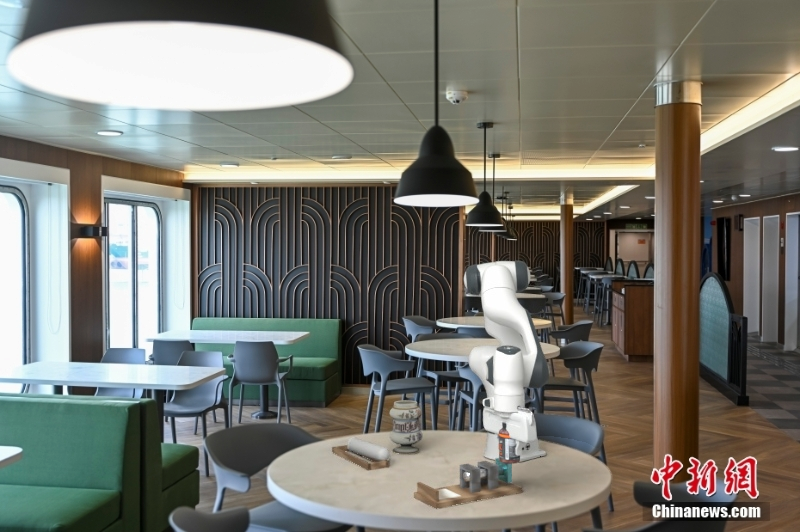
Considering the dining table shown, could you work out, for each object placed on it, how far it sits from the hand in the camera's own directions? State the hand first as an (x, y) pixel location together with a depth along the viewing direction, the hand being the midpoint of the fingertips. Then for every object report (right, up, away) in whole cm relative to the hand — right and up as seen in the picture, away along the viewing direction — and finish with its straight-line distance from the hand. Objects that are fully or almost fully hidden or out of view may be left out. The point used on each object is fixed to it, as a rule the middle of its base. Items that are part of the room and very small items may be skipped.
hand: (509, 452), depth 209 cm
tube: (-44, -11, +46) cm, 65 cm away
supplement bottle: (0, -3, 0) cm, 3 cm away
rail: (-11, -14, +5) cm, 18 cm away
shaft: (-6, -11, +8) cm, 15 cm away
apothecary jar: (-29, -15, +58) cm, 66 cm away
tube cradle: (-45, -14, +46) cm, 66 cm away
